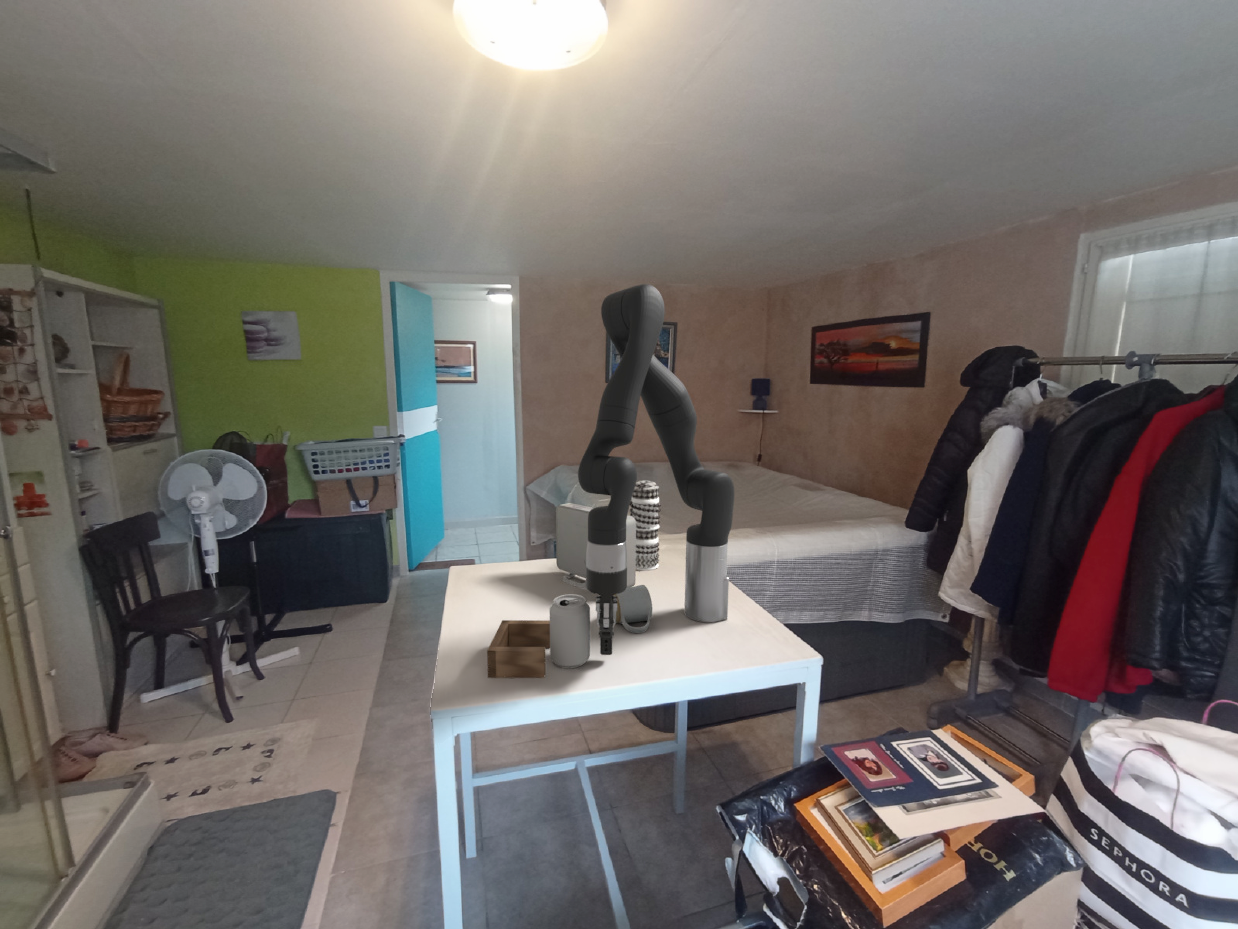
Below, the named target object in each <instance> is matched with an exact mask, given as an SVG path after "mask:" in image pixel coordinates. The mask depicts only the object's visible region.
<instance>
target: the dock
mask: <svg viewBox="0 0 1238 929" xmlns="http://www.w3.org/2000/svg"><path fill="white" fill-rule="evenodd" d="M546 649H550V620H540V619H539V620H538V619H537V620H532V619H531V620H517V619H516V620H513V619H511V620H506V619H505V620H501V622H500V624H499V626H498V628H497V630H496V632H495V634H494V636H493V638H492V640H491V642H490V644H489V646H488V648H487V650H486V654H487V655H486V657H487V658H486V660H487V662H486V663H487V665H486V666H487V678H489V679H490V678H491V679H492V678H496V679H497V678H505V679H506V678H507V679H508V678H511V679H513V678H514V679H516V678H519V679H520V678H521V679H523V678H526V679H527V678H528V679H529V678H531V679H532V678H534V679H535V678H536V679H537V678H538V679H539V678H540V679H542V678H546V674H547V673H546V669H547V668H546Z"/></svg>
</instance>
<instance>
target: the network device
mask: <svg viewBox="0 0 1238 929" xmlns="http://www.w3.org/2000/svg"><path fill="white" fill-rule="evenodd" d="M593 508H594V507H591V506H585V505H581V504H577V503H572V502H567V503H564V504H559V505H557V506H556V507H555V534H556V535H555V538H556V539H555V542H556V545H555V546H556V547H555V549H556V550H555V553H556V555H555V556H556V558H555V561H556V567H557V569H558V570H559V571H562V572H563V571H564V572H565V573H568V574H565V575H564V576H562V581H563V582H564V583H566V582H567V583H566V584H568V585H572V586H574V585H575V587H577V588H580V589H583V590H586V591H589V590H588V589H587V587H586V580H585V581H584V582H577V581H574V580H572V579H570V578H574V577H577V576H578V577H581V578H584V579H586V552H587V544H588V515H589V512H590V510H592V509H593ZM626 546H627V588H629V587H634V586H636V585H635V584H636V573H637V572H636V520H635V518H634V517H632V516H630V515H628V514H627V519H626ZM575 575H577V576H575ZM573 576H574V577H573ZM567 578H569V579H567ZM589 592H590V591H589Z"/></svg>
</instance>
